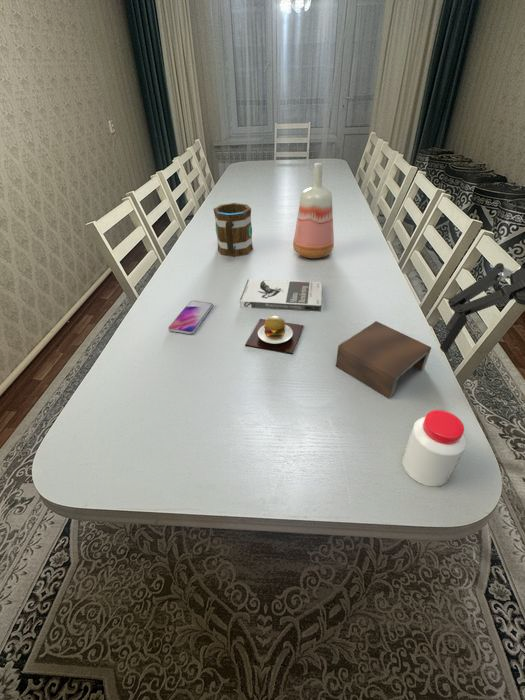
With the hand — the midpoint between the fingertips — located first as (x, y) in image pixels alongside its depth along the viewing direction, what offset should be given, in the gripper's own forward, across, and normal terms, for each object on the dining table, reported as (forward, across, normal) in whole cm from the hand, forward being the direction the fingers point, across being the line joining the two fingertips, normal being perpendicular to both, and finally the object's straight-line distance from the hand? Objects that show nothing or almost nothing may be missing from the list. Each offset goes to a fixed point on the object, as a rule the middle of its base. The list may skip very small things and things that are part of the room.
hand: (484, 369), depth 57 cm
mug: (-4, +94, -27) cm, 98 cm away
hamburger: (+14, +45, -9) cm, 48 cm away
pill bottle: (+18, 0, -4) cm, 19 cm away
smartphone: (+21, +67, -1) cm, 70 cm away
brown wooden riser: (+7, +20, -15) cm, 26 cm away
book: (+3, +58, -19) cm, 61 cm away
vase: (-18, +73, -41) cm, 86 cm away
